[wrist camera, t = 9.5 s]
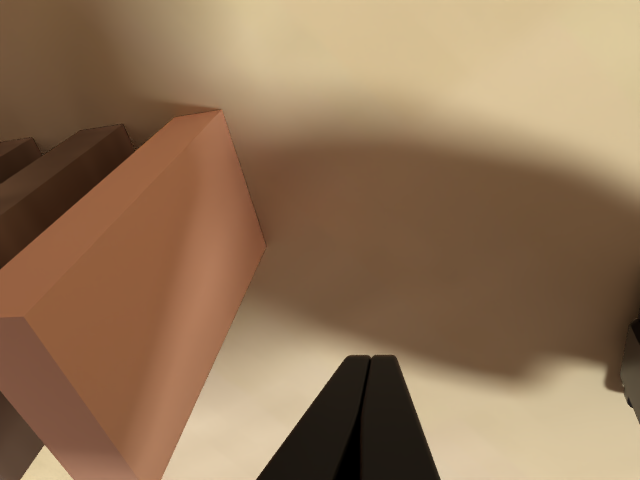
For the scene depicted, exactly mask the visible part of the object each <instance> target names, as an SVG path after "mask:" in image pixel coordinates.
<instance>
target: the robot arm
mask: <svg viewBox="0 0 640 480" xmlns="http://www.w3.org/2000/svg"><path fill="white" fill-rule="evenodd" d="M620 377H621V380H622V382H623V385H624V396H625V398H626V401H627V403H628V405H629V406H630V407H632V408H633V409H634V411H635V414H636V416H637V419H638V421H639V424H640V310H639V315H638V319H634V320H633V321H632V323H631V324H630V325H629V328H628V333H627V339H626V344H625V350H624V355H623V361H622V366H621V371H620ZM256 480H441V479H440V476H439V474H438V471H437V468H436V465H435V463H434V460H433V457H432V454H431V452H430V449H429V446H428V443H427V440H426V438H425V435H424V432H423V429H422V427H421V424H420V421H419V418H418V416H417V413H416V410H415V407H414V404H413V402H412V399H411V396H410V393H409V391H408V388H407V385H406V382H405V380H404V377H403V374H402V371H401V368H400V366H399V363H398V360H397V358H396V357H395V356H394V355H374V356H373V357H372V358H371V357H370V356H368V355H349V356H347V357H346V358H345V359H344V361H343V362H342V363H341V365H340V366H339V367H338V369H337V370H336V371H335V373H334V374H333V376H332V377H331V378H330V380H329V381H328V382H327V384H326V385H325V386H324V388H323V389H322V391H321V392H320V393H319V395H318V396H317V397H316V399H315V400H314V401H313V403H312V404H311V405H310V407H309V408H308V410H307V411H306V412H305V414H304V415H303V416H302V418H301V419H300V420H299V422H298V423H297V425H296V426H295V427H294V429H293V430H292V431H291V433H290V434H289V435H288V437H287V438H286V440H285V441H284V442H283V444H282V445H281V446H280V448H279V449H278V450H277V452H276V453H275V454H274V456H273V457H272V459H271V460H270V461H269V463H268V464H267V465H266V467H265V468H264V469H263V471H262V472H261V474H260V475H259V476H258V478H257V479H256Z"/></svg>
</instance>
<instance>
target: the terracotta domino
mask: <svg viewBox="0 0 640 480" xmlns="http://www.w3.org/2000/svg"><path fill="white" fill-rule="evenodd" d="M265 249H266V244H265V241H264V237H263V234H262V231H261V228H260V225H259V222H258V219H257V216H256V213H255V210H254V207H253V204H252V201H251V197H250V194H249V191H248V188H247V185H246V182H245V179H244V176H243V173H242V170H241V167H240V164H239V160H238V157H237V154H236V151H235V148H234V145H233V142H232V139H231V136H230V133H229V130H228V127H227V123H226V120H225V117H224V114H223V111H222V110H216V111H210V112H204V113H197V114H191V115H185V116H179V117H174V118H173V119H172V120H171V121H169V122H168V123H167V124H166V125H165V126H164V127H163V128H161V129H160V130H159V131H158V132H157V133H156V134H155V135H153V136H152V137H151V138H150V139H149V140H148V141H147V142H145V143H144V144H143V145H142V146H141V147H140V148H139V149H137V150H136V151H135V152H134V153H133V154H132V155H131V156H129V157H128V158H127V159H126V160H125V161H124V162H123V163H121V164H120V165H119V166H118V167H117V168H116V169H115V170H113V171H112V172H111V173H110V174H109V175H108V176H107V177H105V178H104V179H103V180H102V181H101V182H100V183H99V184H97V185H96V186H95V187H94V188H93V189H92V190H91V191H89V192H88V193H87V194H86V195H85V196H84V197H83V198H81V199H80V200H79V201H78V202H77V203H76V204H75V205H73V206H72V207H71V208H70V209H69V210H68V211H67V212H65V213H64V214H63V215H62V216H61V217H60V218H59V219H57V220H56V221H55V222H54V223H53V224H52V225H51V226H49V227H48V228H47V229H46V230H45V231H44V232H43V233H41V234H40V235H39V236H38V237H37V238H36V239H35V240H33V241H32V242H31V243H30V244H29V245H28V246H27V247H25V248H24V249H23V250H22V251H21V252H20V253H19V254H17V255H16V256H15V257H14V258H13V259H12V260H11V261H9V262H8V263H7V264H6V265H5V266H4V267H3V268H1V269H0V391H1V392H2V394H3V395H4V396H5V397H6V398H7V400H8V401H9V402H10V403H11V404H12V406H13V407H14V408H15V409H16V410H17V412H18V413H19V414H20V415H21V417H22V418H23V419H24V420H25V421H26V423H27V424H28V425H29V426H30V427H31V429H32V430H33V431H34V432H35V433H36V435H37V436H38V437H39V438H40V439H41V441H42V442H43V443H44V444H45V446H46V447H47V448H48V449H49V450H50V452H51V453H52V454H53V455H54V456H55V458H56V459H57V460H58V461H59V462H60V464H61V465H62V466H63V467H64V468H65V470H66V471H67V472H68V473H69V475H70V476H71V477H72V478H73V479H74V480H161V478H162V476H163V474H164V472H165V470H166V467H167V465H168V463H169V461H170V459H171V456H172V454H173V452H174V450H175V448H176V445H177V443H178V441H179V439H180V436H181V434H182V432H183V430H184V428H185V425H186V423H187V421H188V419H189V417H190V414H191V412H192V410H193V408H194V406H195V403H196V401H197V399H198V397H199V395H200V392H201V390H202V388H203V386H204V383H205V381H206V379H207V377H208V375H209V372H210V370H211V368H212V366H213V364H214V361H215V359H216V357H217V355H218V353H219V350H220V348H221V346H222V344H223V341H224V339H225V337H226V335H227V333H228V330H229V328H230V326H231V324H232V322H233V319H234V317H235V315H236V313H237V311H238V308H239V306H240V304H241V302H242V299H243V297H244V295H245V293H246V291H247V288H248V286H249V284H250V282H251V280H252V277H253V275H254V273H255V271H256V269H257V266H258V264H259V262H260V260H261V258H262V255H263V253H264V251H265Z"/></svg>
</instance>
